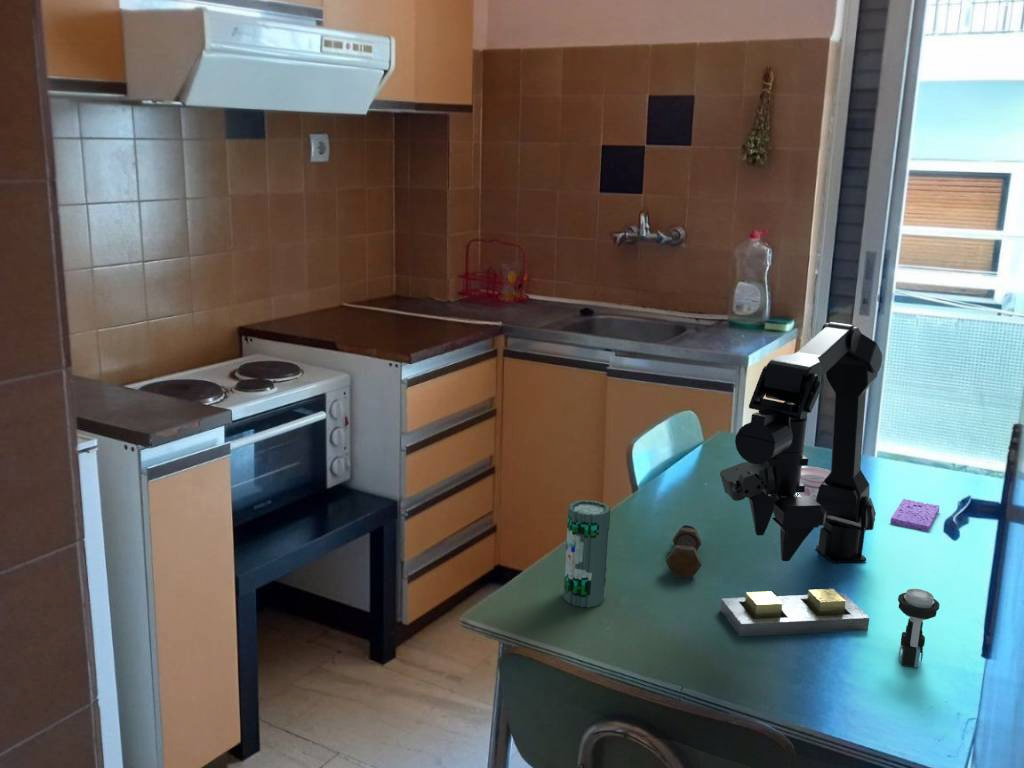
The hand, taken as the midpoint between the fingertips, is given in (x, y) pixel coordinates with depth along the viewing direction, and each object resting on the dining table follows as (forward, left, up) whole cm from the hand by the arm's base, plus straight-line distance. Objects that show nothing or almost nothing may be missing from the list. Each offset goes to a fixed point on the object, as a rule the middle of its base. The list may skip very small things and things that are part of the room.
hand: (772, 547), depth 146 cm
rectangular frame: (-4, 0, -12) cm, 13 cm away
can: (+26, -10, -12) cm, 30 cm away
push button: (-16, +12, -12) cm, 24 cm away
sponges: (-47, -37, -13) cm, 61 cm away
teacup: (-30, -47, -12) cm, 57 cm away
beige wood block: (+1, 0, -12) cm, 12 cm away
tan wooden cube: (-9, 0, -12) cm, 15 cm away
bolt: (+5, -22, -12) cm, 26 cm away
